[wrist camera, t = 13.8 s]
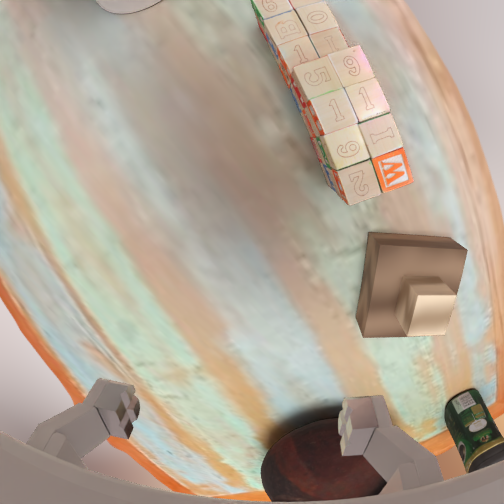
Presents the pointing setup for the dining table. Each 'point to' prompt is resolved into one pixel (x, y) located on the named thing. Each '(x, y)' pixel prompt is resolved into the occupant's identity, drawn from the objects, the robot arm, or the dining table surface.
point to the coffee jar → (474, 431)
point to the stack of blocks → (335, 99)
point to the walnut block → (395, 267)
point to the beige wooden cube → (424, 305)
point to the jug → (317, 467)
